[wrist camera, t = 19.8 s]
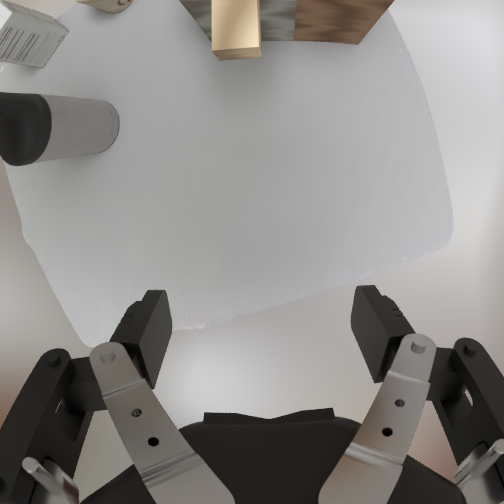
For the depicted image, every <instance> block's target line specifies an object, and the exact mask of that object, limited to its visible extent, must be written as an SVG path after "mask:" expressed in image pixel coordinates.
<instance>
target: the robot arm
mask: <svg viewBox="0 0 504 504" xmlns="http://www.w3.org/2000/svg"><path fill="white" fill-rule="evenodd" d="M118 129H119V118H118V115H117V112H116V110H115V109H114V107H113V106H112V105H110V104H109V103H107V102H103V101H96V100H90V99H82V98H74V97H65V96H55V95H42V94H22V93H5V92H0V156H1V157H2V159H3V160H4V161H5V162H6V163H8V164H9V165H12V166H23V165H27V164H32V163H37V162H43V161H48V160H53V159H59V158H65V157H72V156H79V155H86V154H93V153H100V152H103V151H105V150H106V149H108V148H109V147H110V146H111V145H112V144H113V142H114V140H115V139H116V136H117V134H118ZM120 322H121V323H119V325H118V326H117V328H116V330H115V332H114V334H113V335H112V337H111V339H110V341H109V342H106V343H102V344H100V345H98V346H96V347H95V348H94V349H93V350H92V352H91V353H90V356H89V357H83V358H76V359H71V357H70V355H69V353H68V352H67V351H66V350H65V349H61V348H57V349H52V350H49V351H47V352H46V353H44V354H43V355H42V356H41V357H40V359H39V361H38V362H37V364H36V366H35V367H34V369H33V370H32V372H31V374H30V375H29V377H28V379H27V381H26V382H25V384H24V386H23V388H22V389H21V391H20V393H19V395H18V397H17V398H16V400H15V402H14V404H13V406H12V408H11V410H10V411H9V413H8V415H7V417H6V419H5V421H4V423H3V425H2V427H1V429H0V504H79V489H78V487H77V485H76V483H75V482H74V481H73V477H74V473H75V470H76V466H77V463H78V459H79V456H80V453H81V450H82V447H83V443H84V440H85V437H86V434H87V431H88V428H89V425H90V422H91V419H92V416H93V413H94V411H100V410H108V412H109V414H110V416H111V418H112V421H113V423H114V425H115V427H116V429H117V431H118V433H119V436H120V438H121V440H122V442H123V444H124V446H125V448H126V450H127V452H128V453H129V455H130V457H131V459H132V461H133V463H134V464H133V465H131V466H130V467H129V468H127V469H126V470H125V471H123V472H122V473H121V474H119V475H118V476H116V477H115V478H114V479H112V480H111V481H110V482H108V483H107V484H105V485H104V486H102V487H101V488H100V489H98V490H97V491H95V492H94V493H93V494H91V495H89V496H88V497H87V498H86V499H84V500H83V501H82V502H81V503H80V504H504V377H503V375H502V374H501V372H500V371H499V369H498V368H497V366H496V365H495V363H494V362H493V360H492V359H491V358H490V356H489V354H488V353H487V352H486V350H485V349H484V347H483V346H482V345H481V344H480V343H479V342H477V341H476V340H473V339H471V338H461V339H458V340H457V341H456V342H455V345H454V347H453V349H451V348H439V347H436V345H435V343H434V342H433V341H432V340H431V339H430V338H429V337H427V336H425V335H422V334H416V333H415V331H414V330H413V328H412V327H411V325H410V324H409V322H408V321H407V319H406V318H405V317H404V316H403V313H402V312H401V311H400V310H399V308H398V306H397V305H396V304H395V302H394V301H393V300H391V299H390V298H388V297H387V296H382V295H381V294H380V292H379V291H378V289H377V288H376V286H375V285H364V286H357V287H356V290H355V296H354V302H353V308H352V313H351V328H352V331H353V333H354V336H355V338H356V340H357V343H358V345H359V347H360V350H361V352H362V354H363V357H364V359H365V362H366V364H367V366H368V369H369V371H370V374H371V376H372V379H373V381H374V383H380V382H383V383H382V386H381V387H380V390H379V392H378V394H377V396H376V398H375V400H374V402H373V404H372V406H371V408H370V410H369V412H368V413H367V415H366V417H365V419H364V421H363V423H362V424H361V423H359V422H356V421H354V420H351V419H347V418H342V417H335V415H334V411H333V408H325V409H315V410H304V411H299V412H295V413H292V414H288V415H285V416H281V417H277V418H273V419H264V418H259V417H253V416H248V415H243V414H238V413H207V412H206V413H204V419H203V421H202V422H197V423H193V424H190V425H187V426H185V427H183V428H180V429H177V427H176V426H175V425H174V423H173V422H172V420H171V419H170V417H169V416H168V414H167V413H166V411H165V410H164V408H163V407H162V406H161V404H160V402H159V401H158V399H157V398H156V396H155V394H154V393H153V391H152V390H151V389H154V388H155V384H156V381H157V377H158V375H159V371H160V368H161V365H162V362H163V358H164V356H165V352H166V349H167V346H168V343H169V340H170V337H171V333H172V319H171V314H170V308H169V303H168V298H167V293H166V291H165V290H147V292H146V294H145V295H144V297H143V299H142V301H136V302H135V303H133V304H132V305H131V306H130V307H128V309H127V311H126V312H125V314H124V317H123V318H122V319H121V321H120ZM466 389H467V390H468V392H469V393H470V395H471V397H472V401H473V406H471V404H470V402H469V400H468V398H467V396H466V394H465V391H466ZM426 400H429V401H432V403H433V405H434V407H435V409H436V412H437V414H438V417H439V419H440V421H441V424H442V426H443V428H444V431H445V434H446V436H447V439H448V441H449V444H450V446H451V449H452V452H453V455H454V457H455V460H456V463H457V466H458V467H457V469H456V471H455V474H454V481H455V483H452V482H451V481H449V480H448V479H446V478H444V477H443V476H441V475H439V474H438V473H436V472H434V471H433V470H431V469H430V468H428V467H426V466H424V465H423V464H422V463H420V462H418V461H417V460H415V459H414V458H412V457H411V456H409V455H407V452H408V450H409V447H410V445H411V442H412V439H413V437H414V434H415V431H416V428H417V425H418V422H419V420H420V417H421V414H422V411H423V407H424V404H425V401H426ZM59 402H60V405H59ZM58 405H59V407H58ZM57 407H58V409H57ZM56 409H57V412H56ZM55 412H56V414H55Z"/></svg>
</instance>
